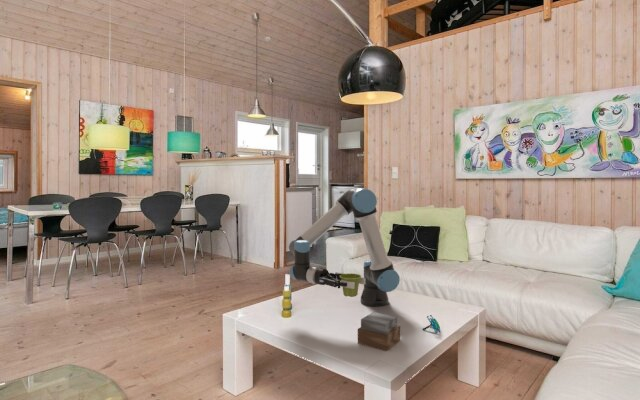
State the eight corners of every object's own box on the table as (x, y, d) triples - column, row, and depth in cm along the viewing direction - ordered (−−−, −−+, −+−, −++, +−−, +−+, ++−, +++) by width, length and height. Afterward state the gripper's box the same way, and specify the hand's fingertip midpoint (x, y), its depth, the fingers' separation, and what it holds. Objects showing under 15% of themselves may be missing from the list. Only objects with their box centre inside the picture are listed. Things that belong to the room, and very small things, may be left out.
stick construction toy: (439, 331, 170) (429, 314, 174) (425, 338, 172) (416, 321, 176) (444, 329, 181) (435, 313, 184) (431, 336, 183) (422, 320, 186)
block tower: (372, 333, 174) (372, 310, 174) (400, 340, 167) (400, 316, 166) (357, 343, 164) (357, 319, 163) (386, 351, 156) (386, 326, 156)
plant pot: (346, 299, 170) (346, 279, 170) (336, 293, 179) (336, 274, 178) (365, 296, 174) (365, 277, 174) (354, 291, 183) (354, 272, 182)
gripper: (331, 279, 196) (371, 286, 182) (304, 288, 179) (346, 297, 165) (331, 264, 195) (371, 270, 182) (303, 272, 178) (346, 279, 165)
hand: (359, 283), depth 173 cm, fingers closed on plant pot, 8 cm apart
